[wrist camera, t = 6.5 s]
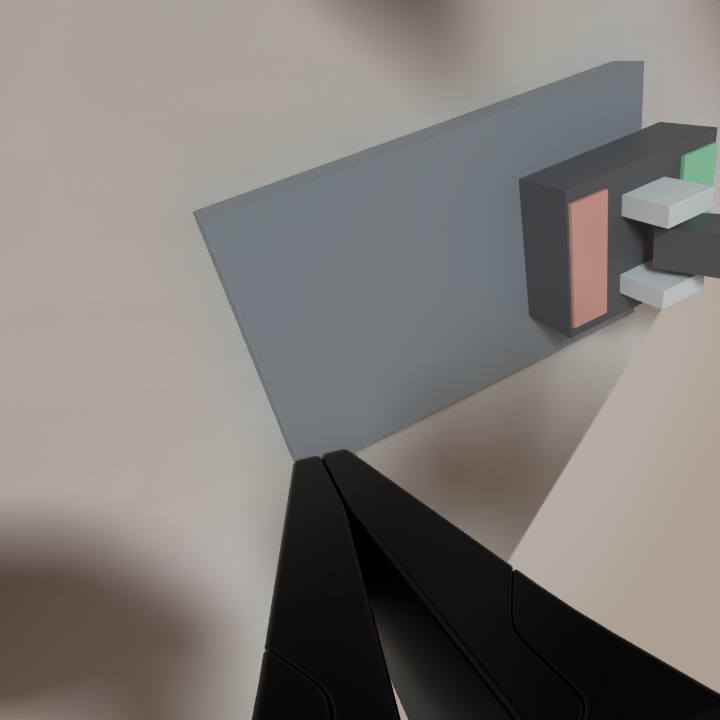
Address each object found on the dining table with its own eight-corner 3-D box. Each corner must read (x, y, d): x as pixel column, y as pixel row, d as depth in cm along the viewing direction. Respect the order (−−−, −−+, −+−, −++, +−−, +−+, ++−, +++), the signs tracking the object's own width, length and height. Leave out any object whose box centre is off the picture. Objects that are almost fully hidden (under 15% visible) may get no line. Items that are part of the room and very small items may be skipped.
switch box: (291, 456, 24) (346, 554, 19) (192, 212, 18) (235, 265, 13) (625, 293, 29) (738, 340, 24) (632, 54, 23) (784, 51, 18)
